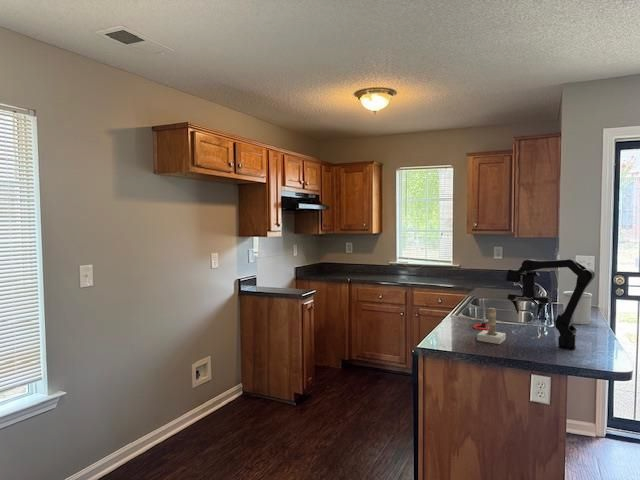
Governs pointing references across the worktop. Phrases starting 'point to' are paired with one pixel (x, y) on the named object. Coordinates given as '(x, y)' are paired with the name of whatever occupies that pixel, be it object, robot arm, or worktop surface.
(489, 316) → the pin
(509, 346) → the worktop surface
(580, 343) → the worktop surface
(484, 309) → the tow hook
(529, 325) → the worktop surface
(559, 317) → the robot arm
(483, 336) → the socket block
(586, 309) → the utensil holder
